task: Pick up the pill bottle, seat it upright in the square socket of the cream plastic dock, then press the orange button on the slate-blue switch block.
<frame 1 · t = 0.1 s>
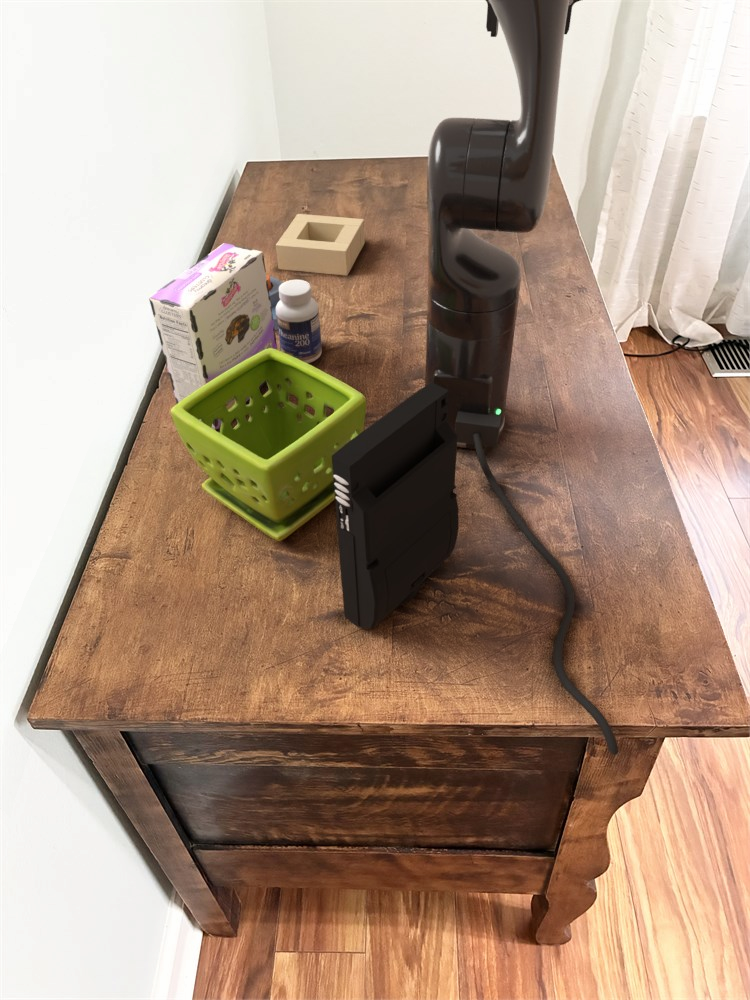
hand: (526, 36, 99), 29 cm above the table, tool pointing down, fingers open, 8 cm apart
pill bottle: (302, 355, 99), on the table
candy box: (232, 394, 94), on the table
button: (259, 283, 105), point 4 cm above the table, slide at 0.1 cm
switch block: (262, 308, 108), on the table
black electronic device: (400, 592, 71), on the table
flower pot: (283, 496, 81), on the table
dock: (322, 255, 119), on the table
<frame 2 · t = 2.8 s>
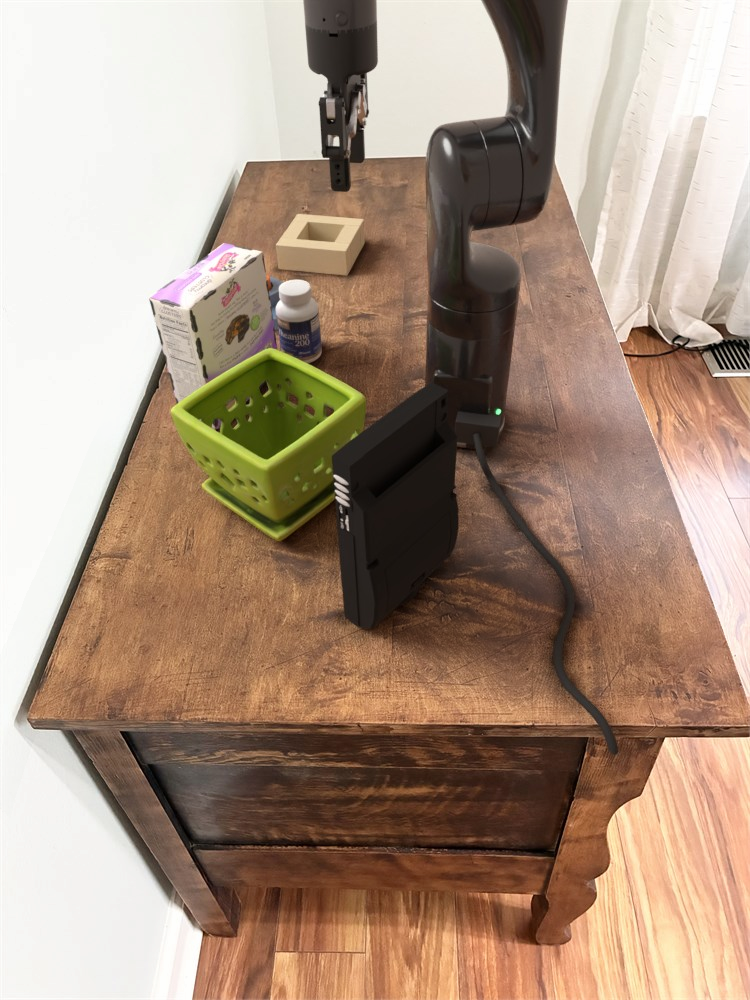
hand: (348, 175, 89), 21 cm above the table, tool pointing down, fingers open, 8 cm apart
nothing on the table moved.
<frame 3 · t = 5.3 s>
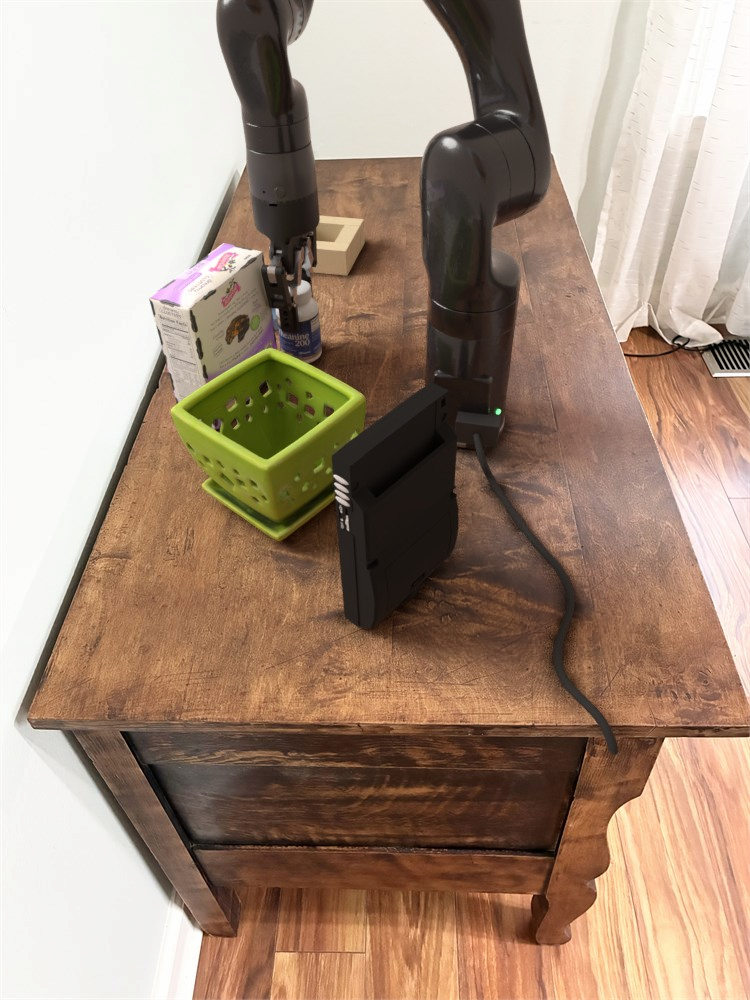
hand: (297, 317, 95), 5 cm above the table, tool pointing down, fingers closed on pill bottle, 5 cm apart
pill bottle: (302, 355, 99), on the table, touching gripper
everything else where it was.
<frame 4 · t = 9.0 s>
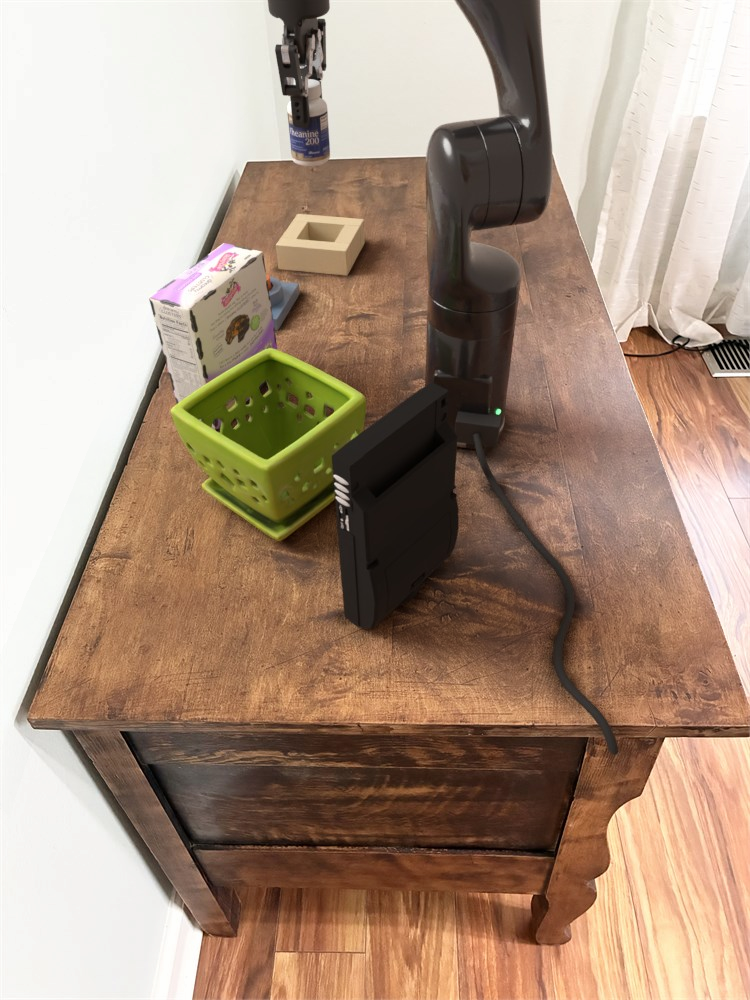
hand: (308, 118, 101), 21 cm above the table, tool pointing down, fingers closed on pill bottle, 5 cm apart
pill bottle: (311, 161, 105), point 16 cm above the table, touching gripper
everything else where it was.
when the fingers open (5 cm above the table, at t = 13.0 s): pill bottle stays where it is, resting in dock.
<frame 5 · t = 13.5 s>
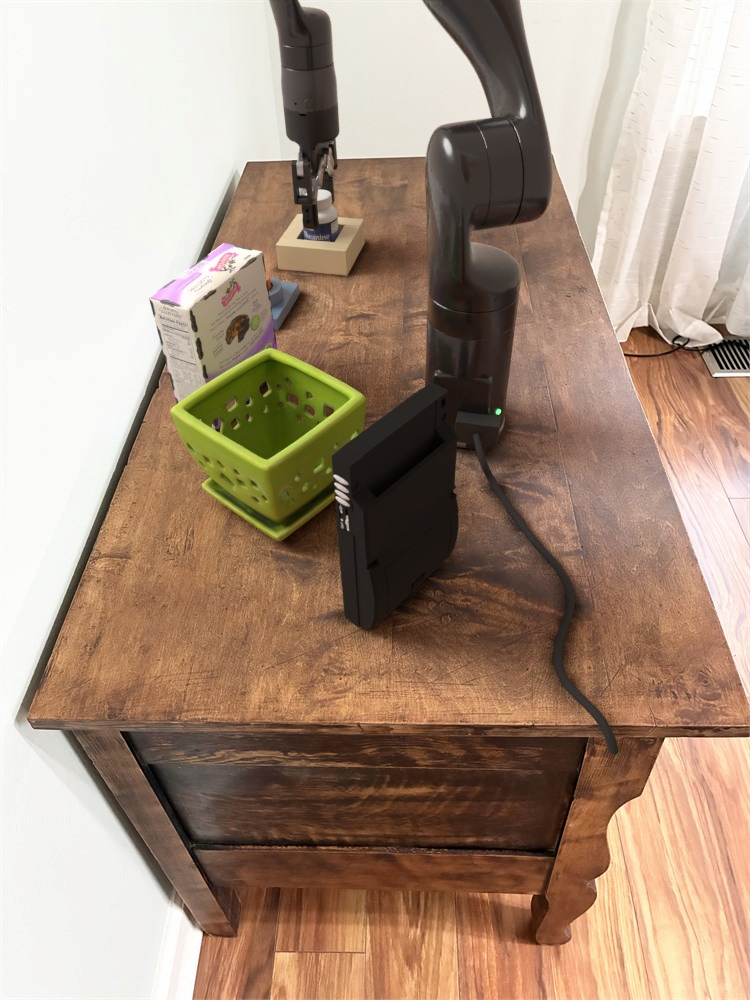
hand: (319, 215, 114), 7 cm above the table, tool pointing down, fingers open, 8 cm apart
pill bottle: (322, 257, 119), resting in dock
everything else where it was.
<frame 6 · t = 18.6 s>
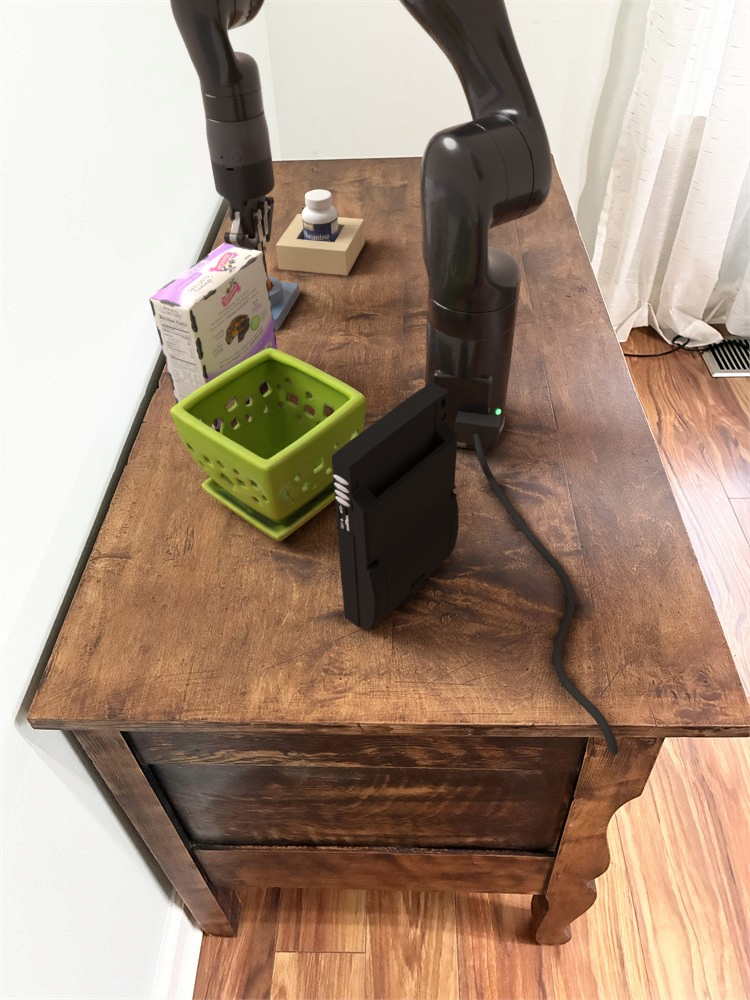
hand: (258, 279, 105), 4 cm above the table, tool pointing down, fingers closed
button: (259, 286, 105), point 4 cm above the table, slide at -0.3 cm, touching gripper
everything else where it was.
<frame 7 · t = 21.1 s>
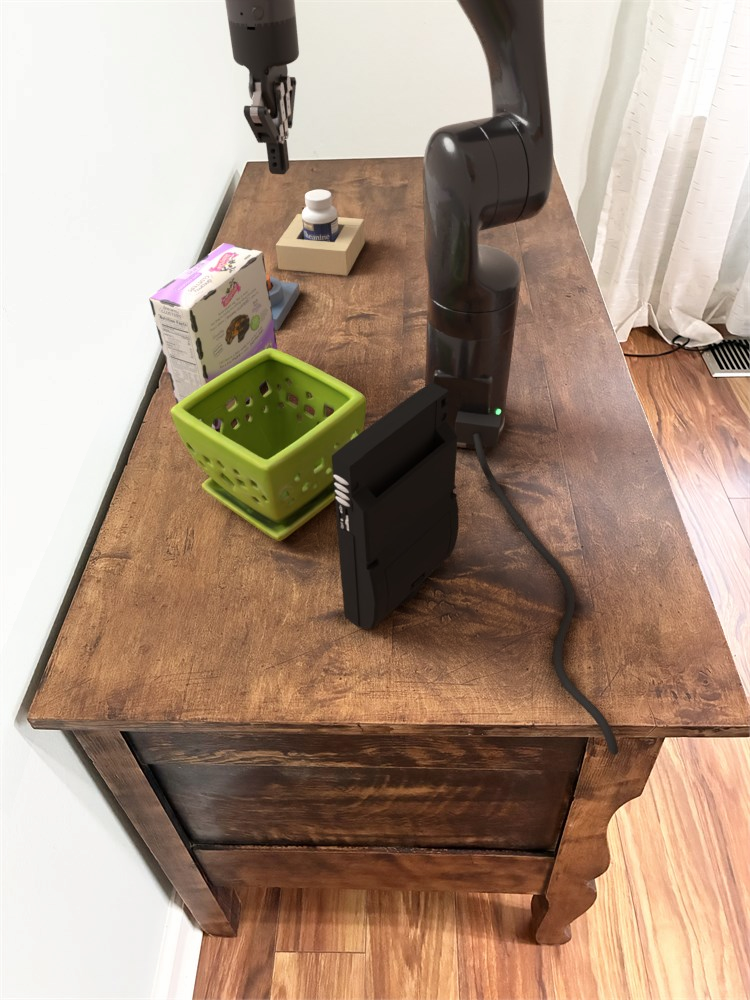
hand: (279, 171, 95), 19 cm above the table, tool pointing down, fingers closed
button: (259, 283, 105), point 4 cm above the table, slide at 0.1 cm
everything else where it was.
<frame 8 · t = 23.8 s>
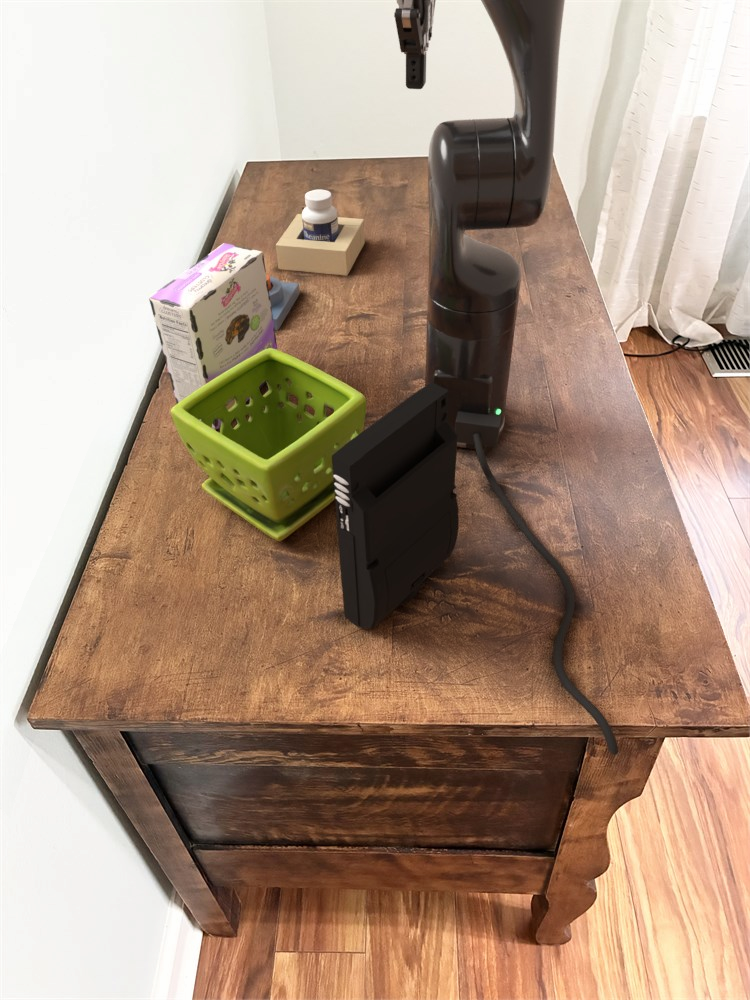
hand: (415, 87, 92), 27 cm above the table, tool pointing down, fingers closed
nothing on the table moved.
at the end: pill bottle 0.0 cm off-centre in the dock, point 0.0 cm above the dock's base; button pushed in 1.1 cm at the most during the clip, back to where it started at the end; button slide at 0.1 cm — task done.
